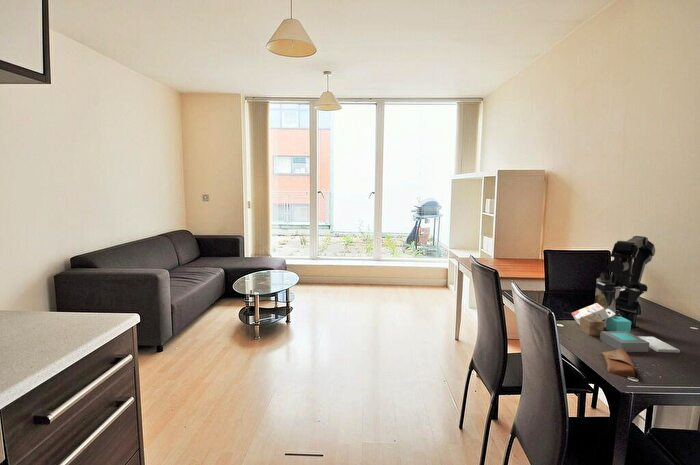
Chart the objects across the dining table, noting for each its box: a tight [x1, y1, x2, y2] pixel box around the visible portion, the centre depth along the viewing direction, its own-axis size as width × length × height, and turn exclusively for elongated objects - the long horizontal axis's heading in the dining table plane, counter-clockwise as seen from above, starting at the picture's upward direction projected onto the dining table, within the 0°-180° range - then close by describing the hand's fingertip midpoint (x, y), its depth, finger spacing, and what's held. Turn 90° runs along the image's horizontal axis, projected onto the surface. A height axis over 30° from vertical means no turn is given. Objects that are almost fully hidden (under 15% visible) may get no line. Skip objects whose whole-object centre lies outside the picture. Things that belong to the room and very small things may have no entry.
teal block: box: [605, 315, 632, 333], centre depth 157 cm, size 6×6×6 cm
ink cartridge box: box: [571, 302, 616, 326], centre depth 163 cm, size 9×5×15 cm
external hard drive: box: [636, 335, 681, 353], centre depth 145 cm, size 2×8×12 cm
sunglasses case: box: [599, 348, 640, 379], centre depth 128 cm, size 18×7×7 cm
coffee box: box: [594, 277, 621, 313], centre depth 186 cm, size 9×6×16 cm
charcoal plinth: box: [599, 330, 650, 353], centre depth 144 cm, size 11×11×4 cm
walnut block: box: [579, 317, 605, 336], centre depth 156 cm, size 6×6×6 cm
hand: (619, 305), depth 157 cm, fingers open, 9 cm apart
